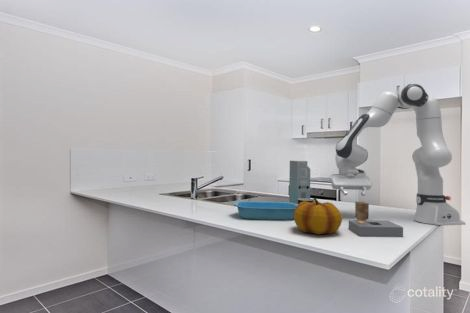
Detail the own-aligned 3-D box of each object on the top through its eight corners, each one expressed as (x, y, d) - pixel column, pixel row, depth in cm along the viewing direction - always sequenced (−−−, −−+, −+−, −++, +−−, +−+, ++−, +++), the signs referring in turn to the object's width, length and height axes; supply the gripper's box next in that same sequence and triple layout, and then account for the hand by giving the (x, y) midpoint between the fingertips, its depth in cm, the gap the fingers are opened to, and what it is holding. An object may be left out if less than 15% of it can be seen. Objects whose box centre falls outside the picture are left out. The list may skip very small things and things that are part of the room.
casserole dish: (297, 213, 179) (297, 201, 179) (305, 222, 156) (305, 207, 156) (233, 212, 179) (233, 200, 179) (232, 221, 157) (232, 206, 157)
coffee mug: (310, 220, 159) (311, 201, 158) (294, 218, 163) (295, 199, 163) (317, 216, 168) (318, 198, 168) (302, 215, 173) (302, 197, 173)
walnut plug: (363, 223, 153) (363, 201, 152) (368, 226, 147) (368, 203, 146) (355, 223, 153) (355, 201, 152) (359, 226, 147) (360, 203, 146)
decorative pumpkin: (294, 236, 128) (294, 200, 127) (293, 224, 149) (293, 193, 149) (345, 239, 124) (345, 202, 124) (336, 226, 146) (337, 195, 146)
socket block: (387, 229, 142) (387, 219, 142) (402, 236, 129) (403, 225, 129) (348, 228, 142) (348, 218, 142) (359, 236, 129) (359, 225, 129)
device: (309, 213, 178) (310, 161, 178) (296, 213, 177) (297, 161, 177) (300, 208, 194) (301, 160, 194) (288, 208, 194) (289, 160, 193)
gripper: (330, 170, 166) (335, 190, 156) (368, 170, 166) (376, 191, 156) (327, 178, 171) (332, 198, 161) (364, 178, 170) (372, 198, 161)
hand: (354, 194), depth 159 cm, fingers open, 8 cm apart
